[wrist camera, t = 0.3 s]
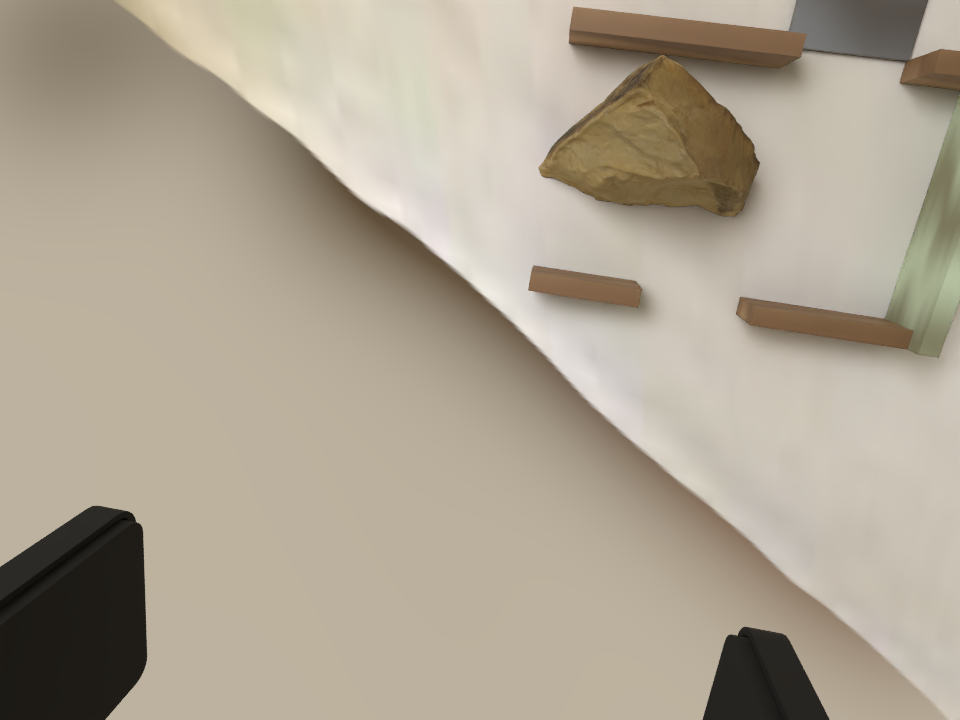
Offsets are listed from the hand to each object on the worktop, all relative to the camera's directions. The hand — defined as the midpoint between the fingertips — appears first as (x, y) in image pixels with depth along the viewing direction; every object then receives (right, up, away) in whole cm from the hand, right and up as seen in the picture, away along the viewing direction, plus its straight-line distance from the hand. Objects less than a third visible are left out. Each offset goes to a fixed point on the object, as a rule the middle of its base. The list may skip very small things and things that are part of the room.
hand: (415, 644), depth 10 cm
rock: (+10, +15, +25) cm, 31 cm away
